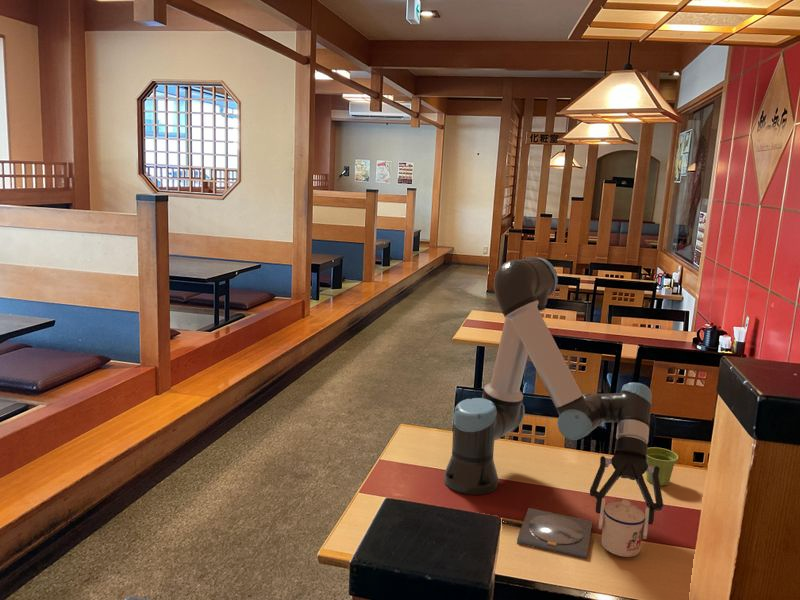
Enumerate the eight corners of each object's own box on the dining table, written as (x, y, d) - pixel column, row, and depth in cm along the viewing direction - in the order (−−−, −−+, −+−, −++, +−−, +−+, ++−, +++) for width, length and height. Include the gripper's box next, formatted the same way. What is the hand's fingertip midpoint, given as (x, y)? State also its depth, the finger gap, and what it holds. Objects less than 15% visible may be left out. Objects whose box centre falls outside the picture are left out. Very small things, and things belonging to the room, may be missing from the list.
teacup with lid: (632, 563, 143) (638, 515, 141) (593, 547, 149) (599, 501, 147) (650, 541, 153) (656, 496, 150) (613, 526, 158) (618, 483, 156)
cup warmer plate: (488, 536, 154) (488, 530, 154) (502, 506, 169) (502, 501, 168) (586, 559, 146) (587, 552, 146) (591, 525, 161) (592, 519, 161)
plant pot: (671, 492, 180) (675, 463, 179) (637, 483, 185) (640, 455, 184) (677, 480, 188) (680, 452, 187) (644, 471, 193) (647, 444, 192)
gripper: (677, 456, 158) (671, 548, 146) (586, 440, 165) (573, 526, 154) (681, 444, 152) (675, 538, 140) (586, 427, 160) (573, 516, 148)
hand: (622, 532), depth 147 cm, fingers closed on teacup with lid, 9 cm apart
